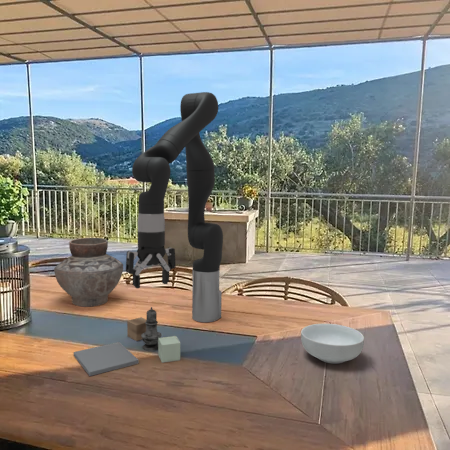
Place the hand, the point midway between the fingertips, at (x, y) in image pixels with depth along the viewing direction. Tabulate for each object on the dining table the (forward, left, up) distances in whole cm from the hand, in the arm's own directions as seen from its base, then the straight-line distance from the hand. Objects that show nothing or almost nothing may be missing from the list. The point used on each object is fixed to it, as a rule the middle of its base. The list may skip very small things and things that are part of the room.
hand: (151, 285), depth 122 cm
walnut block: (0, -9, -18) cm, 20 cm away
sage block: (-1, +9, -18) cm, 20 cm away
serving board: (+14, +1, -18) cm, 23 cm away
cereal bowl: (-39, +33, -19) cm, 54 cm away
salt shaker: (0, 0, -18) cm, 18 cm away
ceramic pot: (+2, -50, -18) cm, 53 cm away
